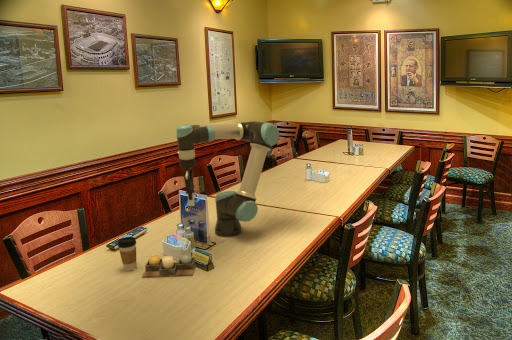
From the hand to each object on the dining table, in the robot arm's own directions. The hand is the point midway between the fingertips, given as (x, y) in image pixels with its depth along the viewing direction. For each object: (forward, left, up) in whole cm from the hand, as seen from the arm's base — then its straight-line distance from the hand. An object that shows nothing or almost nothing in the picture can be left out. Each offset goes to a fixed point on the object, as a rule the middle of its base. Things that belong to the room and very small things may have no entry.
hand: (191, 205), depth 215 cm
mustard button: (+18, +13, -25) cm, 33 cm away
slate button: (+3, +13, -25) cm, 28 cm away
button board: (+10, +15, -26) cm, 32 cm away
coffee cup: (+30, +11, -27) cm, 42 cm away
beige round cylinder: (+10, +17, -23) cm, 31 cm away
